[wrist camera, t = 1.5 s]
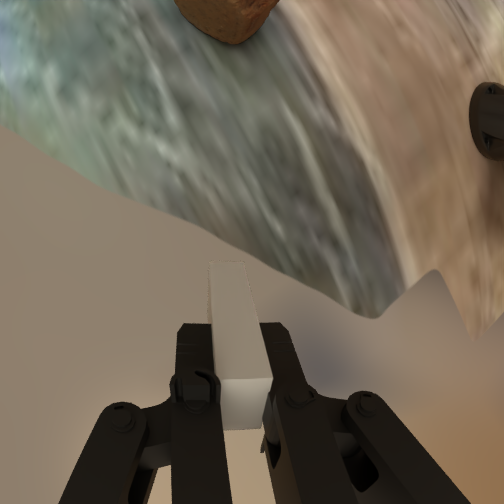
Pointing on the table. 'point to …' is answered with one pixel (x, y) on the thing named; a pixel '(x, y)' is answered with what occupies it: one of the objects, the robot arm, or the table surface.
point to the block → (227, 17)
